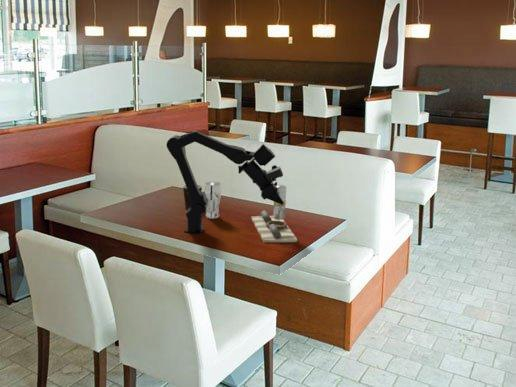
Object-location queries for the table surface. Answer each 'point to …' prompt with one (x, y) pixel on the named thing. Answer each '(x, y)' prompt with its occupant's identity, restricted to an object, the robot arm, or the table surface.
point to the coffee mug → (187, 197)
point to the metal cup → (278, 208)
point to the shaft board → (269, 234)
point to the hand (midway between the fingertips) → (283, 202)
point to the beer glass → (212, 199)
